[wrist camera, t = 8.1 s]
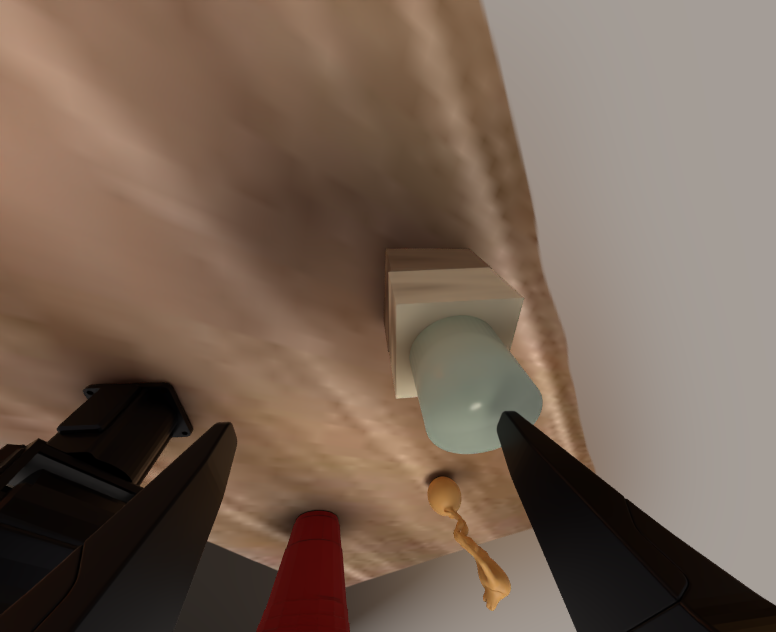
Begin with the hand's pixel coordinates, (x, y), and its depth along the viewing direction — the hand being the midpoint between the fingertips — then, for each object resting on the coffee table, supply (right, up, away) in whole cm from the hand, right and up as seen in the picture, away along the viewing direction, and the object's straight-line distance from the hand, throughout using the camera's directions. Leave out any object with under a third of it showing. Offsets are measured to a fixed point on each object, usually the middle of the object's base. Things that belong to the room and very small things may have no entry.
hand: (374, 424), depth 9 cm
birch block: (+4, +4, +8) cm, 10 cm away
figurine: (+8, -16, +25) cm, 31 cm away
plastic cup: (-9, -24, +28) cm, 39 cm away
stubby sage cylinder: (+4, +2, +5) cm, 6 cm away
